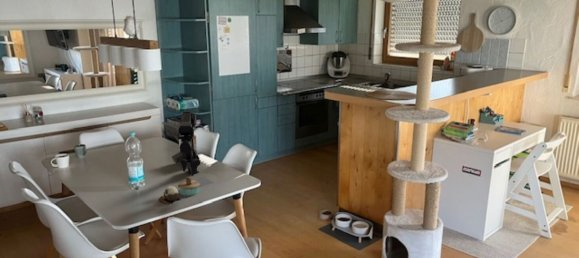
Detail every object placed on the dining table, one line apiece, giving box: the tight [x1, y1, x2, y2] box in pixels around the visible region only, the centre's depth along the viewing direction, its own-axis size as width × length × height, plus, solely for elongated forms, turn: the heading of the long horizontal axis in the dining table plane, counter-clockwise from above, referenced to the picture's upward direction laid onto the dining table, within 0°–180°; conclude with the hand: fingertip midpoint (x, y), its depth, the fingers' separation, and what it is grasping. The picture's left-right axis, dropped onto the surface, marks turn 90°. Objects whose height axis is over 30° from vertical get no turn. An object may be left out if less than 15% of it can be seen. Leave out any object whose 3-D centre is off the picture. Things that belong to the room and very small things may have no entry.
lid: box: [177, 176, 200, 190], centre depth 245 cm, size 12×12×5 cm
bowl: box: [178, 187, 200, 196], centre depth 246 cm, size 11×11×4 cm
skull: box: [159, 185, 182, 205], centre depth 237 cm, size 12×10×10 cm
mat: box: [194, 176, 215, 188], centre depth 260 cm, size 12×12×1 cm
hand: (188, 173), depth 244 cm, fingers open, 9 cm apart
